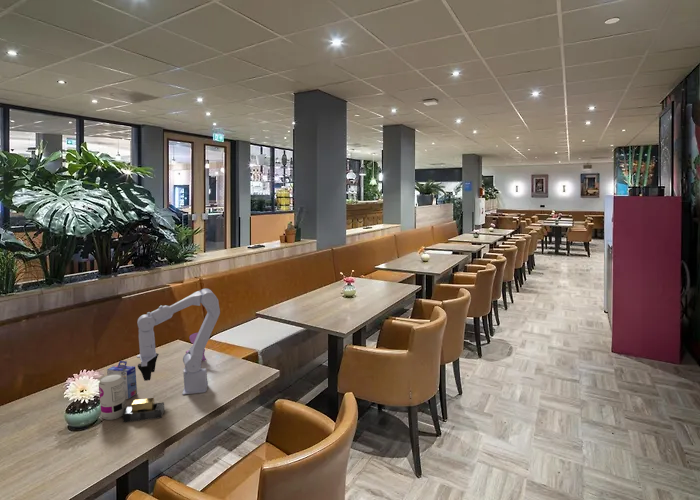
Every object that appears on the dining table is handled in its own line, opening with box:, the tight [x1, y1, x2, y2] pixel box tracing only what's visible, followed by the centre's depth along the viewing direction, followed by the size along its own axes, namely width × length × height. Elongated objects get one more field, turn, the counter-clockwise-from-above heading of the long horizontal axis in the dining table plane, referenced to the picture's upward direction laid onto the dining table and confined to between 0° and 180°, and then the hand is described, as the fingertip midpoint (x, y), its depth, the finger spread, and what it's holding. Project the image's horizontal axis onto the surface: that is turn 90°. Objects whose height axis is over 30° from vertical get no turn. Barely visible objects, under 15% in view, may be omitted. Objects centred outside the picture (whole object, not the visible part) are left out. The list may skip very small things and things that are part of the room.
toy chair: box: [185, 332, 207, 361], centre depth 203 cm, size 8×9×15 cm
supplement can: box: [98, 374, 127, 421], centre depth 155 cm, size 8×8×15 cm
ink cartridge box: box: [106, 360, 138, 400], centre depth 171 cm, size 10×6×14 cm, turn 79°
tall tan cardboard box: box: [131, 397, 155, 413], centre depth 155 cm, size 7×4×6 cm, turn 103°
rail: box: [122, 401, 165, 423], centre depth 156 cm, size 13×6×3 cm, turn 104°
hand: (149, 376), depth 167 cm, fingers open, 7 cm apart
